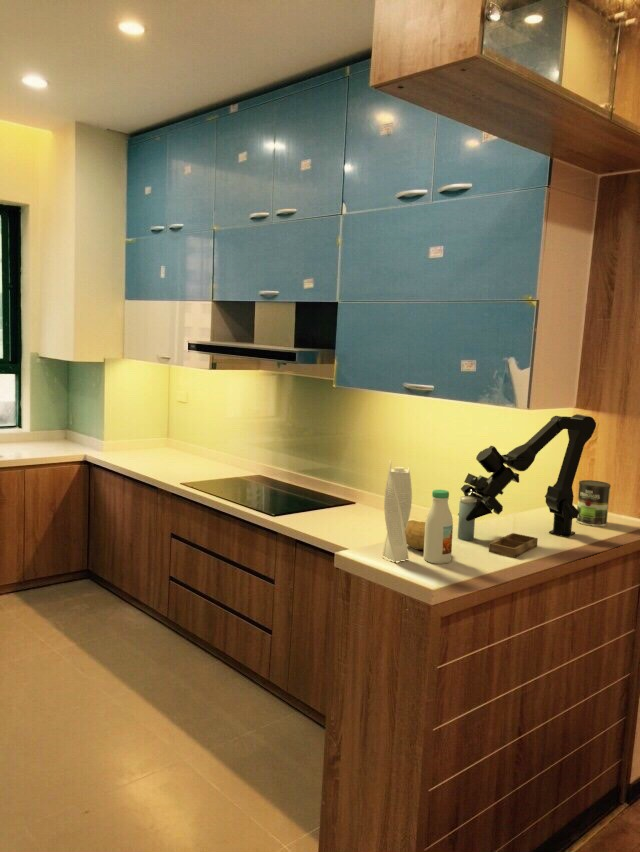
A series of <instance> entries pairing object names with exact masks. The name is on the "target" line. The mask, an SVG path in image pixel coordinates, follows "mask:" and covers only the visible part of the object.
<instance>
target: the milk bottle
mask: <svg viewBox="0 0 640 852" xmlns="http://www.w3.org/2000/svg"><path fill="white" fill-rule="evenodd" d="M431 494H432V495H431V496H432V497H431V499H432V503H431V505H430V508H429V509H428V512H427V514H426V516H425V517H426V518H425V521H424V522H425V537H424V550H423V559H425V560H426V562H427V561H428V563H431V564H436V565H437V564H439V565H443V564H449V563H450V562H451V560H452V547H453V532H454V531H453V528H454V525H453V524H454V523H453V522H454V521H453V515H452V512H451V509H450V506H449V501H448V500H449V499H450V498H449V497H450V492H449V491H448V490H446V489H433V490H432V493H431ZM425 560H424V561H425Z"/></svg>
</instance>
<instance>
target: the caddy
mask: <svg viewBox="0 0 640 852" xmlns="http://www.w3.org/2000/svg"><path fill="white" fill-rule="evenodd" d="M488 545H489V546H488V553H492V554H496V555H500V556H505V557H510V558H514V559H515V558H517V557H519V556H521V555H524V554H525V553H528V552H529V551H531V550H533V549H535V548H538V537H535V536H530V535H529V536H528V535H525V534H521V533H517V532H516V533H515V532H511V533H509V534H508V535H505V536H503V537H501V538H497V539H496V540H494V541H492V542H490V543H489V544H488Z"/></svg>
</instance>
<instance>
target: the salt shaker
mask: <svg viewBox="0 0 640 852" xmlns="http://www.w3.org/2000/svg"><path fill="white" fill-rule="evenodd" d="M475 499H476V498H474V497H470V496H465V495H464V496H460V501H459V505H458V506H459V507H458V509H459V510H458V513H459V515H458V524H457V527H458V528H457V539H458V540H461V541H474V540H475V527H476V526H475V525H476V524H475V523H476V522H475V521H476V519H473V520H470V521H467V520H466V517H467V516H468V515H469V513H470V512H471V511H472V510H473V508H474V507H475V506H476V503H475Z"/></svg>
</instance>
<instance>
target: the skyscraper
mask: <svg viewBox="0 0 640 852" xmlns="http://www.w3.org/2000/svg"><path fill="white" fill-rule="evenodd" d="M388 462H389V463H388V465H389V466H388V467H389V468H388V473H387V478H386V482H385V489H384V503H383V504H384V510H383V511H384V521H385V526H386V536H385V540H384V541H385V542H384V546H383V551H382V555H383V556H385V557H387V558H388V559H391V560H393V561H394V562H396V561H401V560H406V559H409V551H408V545H407V542H406V535H405V530H406V527H407V524H408V521H410V515H411V512H412V511H411V509H412V504H413V503H412V500H413V491H412V490H413V489H412V479H411V478H412V477H411V469H410V467H409V466H408V467H407V469H406V468H405V467H404V466H394V467H393V468H392V460H391V459H390V460H389V461H388ZM409 560H410V559H409Z"/></svg>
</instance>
